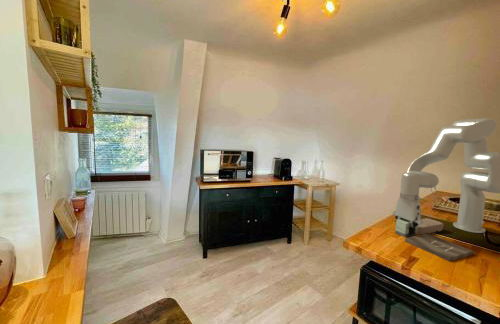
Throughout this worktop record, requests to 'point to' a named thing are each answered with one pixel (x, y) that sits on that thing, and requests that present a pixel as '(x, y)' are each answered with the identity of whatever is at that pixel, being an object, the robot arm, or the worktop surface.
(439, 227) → the brick
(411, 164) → the robot arm
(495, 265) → the worktop surface
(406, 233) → the block
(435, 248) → the board
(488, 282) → the worktop surface
